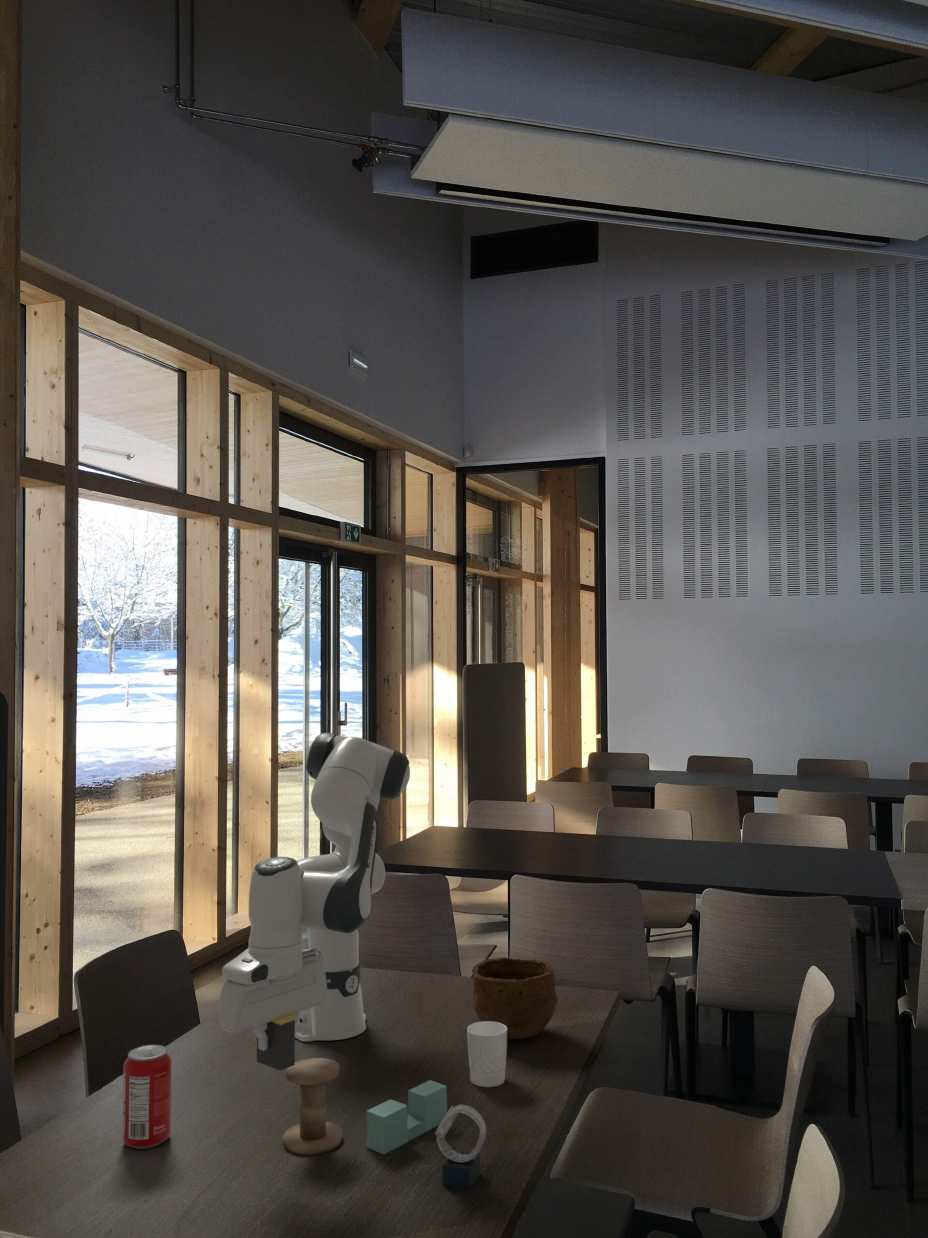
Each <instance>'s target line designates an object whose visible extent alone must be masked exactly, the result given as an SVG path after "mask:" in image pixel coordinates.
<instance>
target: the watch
mask: <svg viewBox="0 0 928 1238" xmlns="http://www.w3.org/2000/svg"><path fill="white" fill-rule="evenodd" d="M459 1113H460V1114H463V1115H466V1116H468V1117H469V1118H471V1119H472V1120H474V1122H475V1123H476V1125H478V1126H477V1127H478V1129H479V1134H478V1135H479V1136H478V1139H477V1142H476V1145H475V1148H473V1149H472V1150H471V1151H469V1150H466V1149H465V1150H463V1149H457V1148H453V1149H452V1148H451V1146H450V1145H449V1144H448V1142H447V1140H446V1138H445V1137H446V1136H447V1134H448V1133H449V1130H451V1128H452V1126H453V1124H454V1122H455V1121H456V1119H457V1117H458V1114H459ZM434 1134H435V1136H436V1143H437V1146H438V1147H439V1150H440V1152H441V1153H442V1154H443V1155H444V1156H445V1157H446V1158H447V1159H446V1160H445V1162H444V1163H443V1164H442V1187H446V1188H452V1189H457V1190H458V1189H459V1190H464V1191H470V1190H471V1189H472V1188H473V1185H474V1184H475V1182H476V1180H477V1178H478V1177H479V1175H480V1174H481V1152H480V1151H481V1148H482V1147H483V1145H484V1143H485V1140H486V1137H487V1125H486V1122H485V1120H484V1118H483V1115H482V1114H481V1113H480V1112H479V1111H478V1110H477V1109H475V1107H473V1106H470V1105H467V1104H457V1105H455V1106H453V1105H452V1106H450V1108H449V1109H447V1113H446V1115H445V1116H444V1118H443V1119H442V1121H441V1123H440V1124H439V1125H438V1126H437V1129H436V1131H435V1133H434Z"/></svg>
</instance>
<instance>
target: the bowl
mask: <svg viewBox="0 0 928 1238" xmlns="http://www.w3.org/2000/svg"><path fill="white" fill-rule="evenodd" d="M471 972H472V978H473V980H472V982H473V992H472V1005H473V1008H474V1011H475V1013H476V1015H477V1018H478V1019H479V1022H483V1021H491V1022H498V1023H501V1024H504V1025H505V1026H506V1027H507V1040H523V1039H529V1038H531V1037H534V1036H536V1035H538V1034H539V1033H541V1032H542V1031H543V1030H544V1029H545V1028H546V1026H547V1025H548V1024H549V1023H550V1021H551V1020H552V1017H553V1016H554V1013H555V1010H556V1007H557V1005H558V1003H559V1002H558V1001H559V1000H558V997H557V993H556V979H555V978H556V977H555V972H554V968H553V967H552V965H551V964H550V963H548V961H544V960H538V959H533V958H532V959H521V958H511V957H509V958H508V957H506V956H504V957H496V958H494V957H493V958H490V959H487V960H483V961H479V962H478V963H477V964H475V965H474V966H473V967H472V970H471Z"/></svg>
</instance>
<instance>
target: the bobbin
mask: <svg viewBox="0 0 928 1238" xmlns="http://www.w3.org/2000/svg"><path fill="white" fill-rule="evenodd" d="M285 1073H286V1075H285V1076H286V1079H287V1080H288V1081H289V1082H290V1083H292V1084H295V1085H299V1123H298V1124H297V1123H296V1124H294V1125H293V1126H291V1127H289V1128H288V1129H286V1131H284V1133H283V1136H282V1143H283V1147H284V1148H285V1149H286V1151H288V1152H291V1153H294V1154H297V1155H303V1156H305V1155H307V1156H308V1155H309V1156H310V1155H313V1156H314V1155H320V1154H323V1153H328V1152H330V1151H332V1150H335V1149H336V1148H338V1147H339V1146H340V1145H341V1144H342V1141H343V1130H342V1128H341V1127H340V1125H338V1124H336V1123H333V1122H330V1121H327V1120H326V1119H327V1084H328V1083H330V1082H332V1081H334V1080H335V1079H337V1078H338V1077H339V1076H340V1064H339V1063H338V1062H337V1061H335V1060H333V1059H330V1058H324V1057H323V1058H322V1057H321V1058H320V1057H312V1058H305V1059H301V1060H297V1061H295V1065H293V1066H291V1067H288V1068H286V1072H285Z"/></svg>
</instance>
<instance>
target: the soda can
mask: <svg viewBox="0 0 928 1238" xmlns="http://www.w3.org/2000/svg"><path fill="white" fill-rule="evenodd" d="M168 1050H169V1049H168V1048H167V1047H166V1046H165V1045H161V1044H147V1045H142V1046H138V1047H135V1048H133V1049H132V1050H130V1051H129V1052H128V1053H127V1058H126V1059H125V1061H124V1063H123V1076H122V1078H123V1082H122V1083H123V1084H122V1086H123V1087H122V1088H123V1090H122V1091H123V1093H122V1095H123V1096H122V1100H123V1101H122V1142H123V1143H124V1144H125V1145H126V1146H127V1147H131V1148H133V1149H136V1150H137V1149H138V1150H147V1149H151V1148H155V1147H157V1146H159V1145H161V1144H162V1143H164V1142H165V1141H166V1140H168V1138H169V1137H170V1136H171V1133H172V1067H173V1066H172V1061H173V1060H172V1057H171V1055H170V1054H169V1052H168Z"/></svg>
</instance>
